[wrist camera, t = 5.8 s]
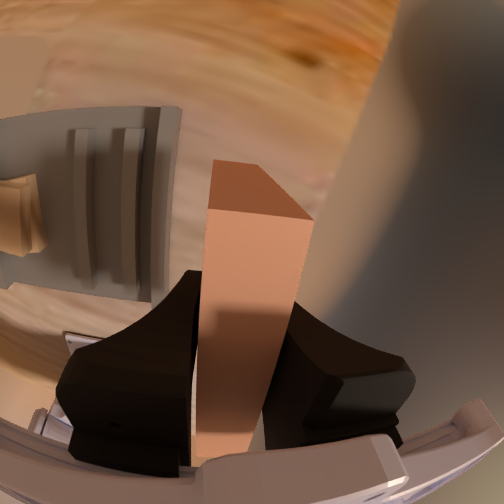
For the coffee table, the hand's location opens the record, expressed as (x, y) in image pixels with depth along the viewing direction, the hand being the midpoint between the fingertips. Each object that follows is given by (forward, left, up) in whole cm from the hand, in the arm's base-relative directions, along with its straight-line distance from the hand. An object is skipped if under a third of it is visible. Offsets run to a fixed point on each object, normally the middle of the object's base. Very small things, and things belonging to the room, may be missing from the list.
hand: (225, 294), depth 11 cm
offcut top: (0, +17, -8) cm, 18 cm away
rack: (0, +12, -10) cm, 16 cm away
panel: (0, 0, -3) cm, 3 cm away
